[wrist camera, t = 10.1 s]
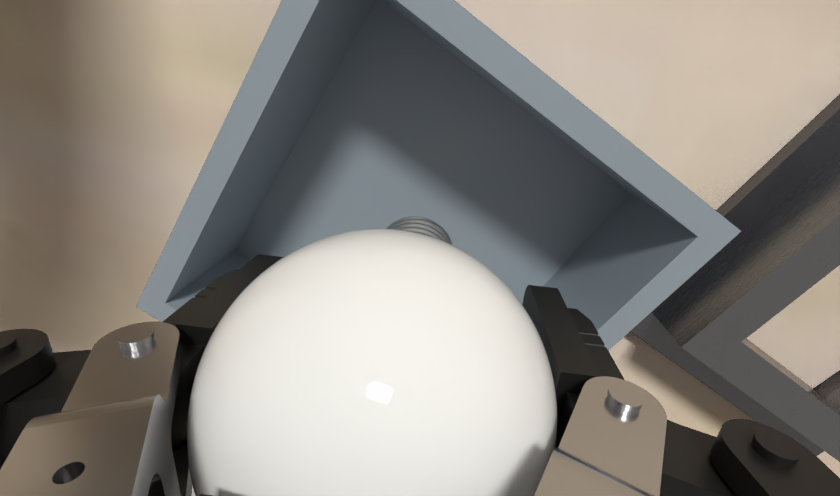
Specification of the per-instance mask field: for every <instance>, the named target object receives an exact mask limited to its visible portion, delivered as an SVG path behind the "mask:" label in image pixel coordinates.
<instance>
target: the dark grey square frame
mask: <svg viewBox="0 0 840 496" xmlns="http://www.w3.org/2000/svg"><path fill="white" fill-rule="evenodd" d="M717 212H718V213H719V214H721V215H722V216H723V217H724V218H726V219H727V220H728V221H729V222H731V223H732V224H733V225H734V226H736V227H737V228H738V229H739V230H740V231H741V232H740V233H739V234H738V235H737V236H736V237H735V238H733V239H732V240H731V241H730V242H729V243H728V244H727V245H726V246H724V247H723V248H722V249H721V250H720V251H719V252H718V253H717V254H716V255H714V256H713V257H712V258H711V259H710V260H709V261H708V262H707V263H706V264H704V265H703V266H702V267H701V268H700V269H699V270H698V271H697V272H695V273H694V274H693V275H692V276H691V277H690V278H689V279H688V280H687V281H685V282H684V283H683V284H682V285H681V286H680V287H679V288H678V289H677V290H675V291H674V292H673V293H672V294H671V295H670V296H669V297H668V298H666V299H665V300H664V301H663V302H662V303H661V304H660V305H659V306H658V307H656V308H655V309H654V310H653V311H652V312H651V313H650V314H649V315H648V316H646V317H645V318H644V319H643V320H642V321H641V322H640V323H639V324H637V325H636V326H635V327H634V328H633V329H632V330H631V332H632V333H634V334H635V335H637V336H638V337H639V338H641V339H642V340H644V341H645V342H646V343H648V344H649V345H651V346H652V347H653V348H655V349H656V350H658V351H659V352H660V353H662V354H663V355H665V356H666V357H667V358H669V359H670V360H672V361H673V362H674V363H676V364H677V365H679V366H680V367H681V368H683V369H684V370H686V371H687V372H688V373H690V374H691V375H693V376H694V377H696V378H697V379H698V380H700V381H701V382H703V383H704V384H705V385H707V386H708V387H710V388H711V389H712V390H714V391H715V392H717V393H718V394H719V395H721V396H722V397H724V398H725V399H726V400H728V401H729V402H731V403H732V404H733V405H735V406H736V407H738V408H739V409H740V410H742V411H743V412H745V413H746V414H747V415H749V416H750V417H752V418H753V419H754V420H756V421H757V422H759V423H761V424H764V425H767V426H769V427H772V428H774V429H776V430H778V431H780V432H782V433H784V434H786V435H788V436H790V437H791V438H793V439H794V440H796V441H798V442H799V443H800V444H802V445H803V446H805V447H806V448H807V449H808V450H810V451H811V452H812V453H813V454H814V455H815V456H817V455H819V454H820V453H822V452H824V451H825V452H827V453H828V454H830V455H831V456H832V457H834V458H835V459H837V460H838V461H839V462H840V371H839V372H838V373H836V374H835V375H834V376H832V377H831V378H829V379H828V380H826V381H825V382H823V383H822V384H820V385H819V386H818V387H816V388H815V389H813V388H811V387H810V386H809V385H807V384H806V383H805V382H803V381H802V380H801V379H799V378H798V377H797V376H795V375H794V374H793V373H791V372H790V371H789V370H787V369H786V368H785V367H783V366H782V365H781V364H779V363H778V362H777V361H775V360H774V359H773V358H771V357H770V356H769V355H767V354H766V353H765V352H763V351H762V350H761V349H759V348H758V347H757V346H755V345H754V344H753V343H751V342H750V341H749V340H747V339H746V338H747V337H748V336H749V335H751V334H752V333H753V332H755V331H756V330H757V329H758V328H760V327H761V326H762V325H763V324H765V323H766V322H767V321H769V320H770V319H771V318H772V317H774V316H775V315H776V314H777V313H779V312H780V311H781V310H783V309H784V308H785V307H786V306H788V305H789V304H790V303H791V302H793V301H794V300H795V299H797V298H798V297H799V296H800V295H802V294H803V293H804V292H805V291H807V290H808V289H809V288H811V287H812V286H813V285H814V284H816V283H817V282H818V281H819V280H821V279H822V278H823V277H825V276H826V275H827V274H828V273H830V272H831V271H832V270H833V269H835V268H836V267H837V266H839V265H840V95H839V96H838V97H837V98H836V99H835V100H834V101H832V102H831V103H830V104H829V105H828V106H827V107H826V108H825V109H824V110H823V111H822V112H821V113H820V114H819V115H818V116H817V117H815V118H814V119H813V120H812V121H811V122H810V123H809V124H808V125H807V126H806V127H805V128H804V129H803V130H802V131H801V132H800V133H798V134H797V135H796V136H795V137H794V138H793V139H792V140H791V141H790V142H789V143H788V144H787V145H786V146H785V147H784V148H783V149H781V150H780V151H779V152H778V153H777V154H776V155H775V156H774V157H773V158H772V159H771V160H770V161H769V162H768V163H767V164H766V165H764V166H763V167H762V168H761V169H760V170H759V171H758V172H757V173H756V174H755V175H754V176H753V177H752V178H751V179H750V180H749V181H747V182H746V183H745V184H744V185H743V186H742V187H741V188H740V189H739V190H738V191H737V192H736V193H735V194H734V195H733V196H732V197H730V198H729V199H728V200H727V201H726V202H725V203H724V204H723V205H722V206H721V207H720V208H719V209H718V210H717Z"/></svg>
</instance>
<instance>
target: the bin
mask: <svg viewBox="0 0 840 496" xmlns="http://www.w3.org/2000/svg"><path fill="white" fill-rule="evenodd" d="M413 216H415V217H423V218H427V219H430V220H432V221H434V222H436V223H437V224H439V225H440V226H441V227H442V228H443V229H444V230H445V231H446V232H447V233H448V235H449V237H450V239H451V241H452V244H453V246H455V247H457V248H459V249H461V250H463V251H464V252H466V253H468V254H469V255H471V256H473V257H474V258H476V259H477V260H479V261H480V262H481V263H483V264H484V265H485V266H486V267H488V268H489V269H490V270H491V271H492V272H494V273H495V274H496V275H497V276H498V277H499V278H500V279H501V280H502V281H503V282H504V283H505V284H506V285H507V286H508V287H509V289H510V290H511V291H512V292H513V293H514V294H515V296H516V297H517V298H518V300H519V301H520V302H521V304H522V303H523V298H524V294H525V290H526V287H527V286H528V285H534V286H543V287H552V288H558V290H559V292H560V294H561V296H562V298H563V300H564V302H565V304H566V306H567V308H573V309H578V310H579V311H580V312H581V313H583V314H584V315H585V316H586V317H587V318H589V319H590V320H591V321H592V323H593V324H594V326H595V328H596V330H597V332H598V333H599V334H598V336H600V337H601V339H602V341H603V342H604V344H605V345H604V347H606V348H607V350H608V351H609V350H610V349H611V348H612V347H613V346H614V345H615V344H616V343H617V342H619V341H620V340H621V339H622V338H623V337H624V336H625V335H626V334H627V333H629V332H630V331H631V330H632V329H633V328H634V327H635V326H636V325H637V324H639V323H640V322H641V321H642V320H643V319H644V318H645V317H646V316H648V315H649V314H650V313H651V312H652V311H653V310H654V309H655V308H656V307H658V306H659V305H660V304H661V303H662V302H663V301H664V300H665V299H666V298H668V297H669V296H670V295H671V294H672V293H673V292H674V291H675V290H677V289H678V288H679V287H680V286H681V285H682V284H683V283H684V282H685V281H687V280H688V279H689V278H690V277H691V276H692V275H693V274H694V273H695V272H697V271H698V270H699V269H700V268H701V267H702V266H703V265H704V264H706V263H707V262H708V261H709V260H710V259H711V258H712V257H713V256H714V255H716V254H717V253H718V252H719V251H720V250H721V249H722V248H723V247H724V246H726V245H727V244H728V243H729V242H730V241H731V240H732V239H733V238H735V237H736V236H737V235H738V234H739V233H740V232H741V231H740V230H739V229H738V228H737V227H736V226H734V225H733V224H732V223H731V222H729V221H728V220H727V219H726V218H724V217H723V216H722V215H721V214H719V213H718V212H717V211H716V210H714V209H713V208H712V207H711V206H709V205H708V204H707V203H706V202H704V201H703V200H702V199H701V198H699V197H698V196H697V195H696V194H694V193H693V192H692V191H691V190H690V189H688V188H687V187H686V186H685V185H683V184H682V183H681V182H680V181H678V180H677V179H676V178H675V177H673V176H672V175H671V174H670V173H668V172H667V171H666V170H665V169H663V168H662V167H661V166H660V165H658V164H657V163H656V162H655V161H653V160H652V159H651V158H650V157H648V156H647V155H646V154H645V153H644V152H642V151H641V150H640V149H639V148H637V147H636V146H635V145H634V144H632V143H631V142H630V141H629V140H627V139H626V138H625V137H624V136H622V135H621V134H620V133H619V132H617V131H616V130H615V129H614V128H612V127H611V126H610V125H609V124H607V123H606V122H605V121H604V120H603V119H601V118H600V117H599V116H598V115H596V114H595V113H594V112H593V111H591V110H590V109H589V108H588V107H586V106H585V105H584V104H583V103H581V102H580V101H579V100H578V99H576V98H575V97H574V96H573V95H571V94H570V93H569V92H568V91H566V90H565V89H564V88H563V87H561V86H560V85H559V84H558V83H557V82H555V81H554V80H553V79H552V78H550V77H549V76H548V75H547V74H545V73H544V72H543V71H542V70H540V69H539V68H538V67H537V66H535V65H534V64H533V63H532V62H530V61H529V60H528V59H527V58H525V57H524V56H523V55H522V54H520V53H519V52H518V51H517V50H516V49H514V48H513V47H512V46H511V45H509V44H508V43H507V42H506V41H504V40H503V39H502V38H501V37H499V36H498V35H497V34H496V33H494V32H493V31H492V30H491V29H489V28H488V27H487V26H486V25H484V24H483V23H482V22H481V21H479V20H478V19H477V18H476V17H474V16H473V15H472V14H471V13H470V12H468V11H467V10H466V9H465V8H463V7H462V6H461V5H460V4H458V3H457V2H456V1H455V0H282V1H281V3H280V5H279V7H278V9H277V12H276V14H275V16H274V18H273V20H272V22H271V24H270V26H269V28H268V31H267V33H266V35H265V37H264V39H263V41H262V43H261V45H260V47H259V49H258V52H257V54H256V56H255V58H254V60H253V62H252V64H251V66H250V68H249V70H248V73H247V75H246V77H245V79H244V81H243V83H242V85H241V87H240V89H239V91H238V94H237V96H236V98H235V100H234V102H233V104H232V106H231V108H230V110H229V112H228V115H227V117H226V119H225V121H224V123H223V125H222V127H221V129H220V131H219V133H218V136H217V138H216V140H215V142H214V144H213V146H212V148H211V150H210V152H209V155H208V157H207V159H206V161H205V163H204V165H203V167H202V169H201V171H200V173H199V176H198V178H197V180H196V182H195V184H194V186H193V188H192V190H191V192H190V194H189V197H188V199H187V201H186V203H185V205H184V207H183V209H182V211H181V213H180V215H179V218H178V220H177V222H176V224H175V226H174V228H173V230H172V232H171V234H170V236H169V239H168V241H167V243H166V245H165V247H164V249H163V251H162V253H161V255H160V258H159V260H158V262H157V264H156V266H155V268H154V270H153V272H152V274H151V276H150V279H149V281H148V283H147V285H146V287H145V289H144V291H143V293H142V295H141V297H140V300H139V302H138V304H137V306H136V307H137V308H139V309H140V310H142V311H144V312H145V313H147V314H149V315H151V316H152V317H154V318H156V319H157V320H159V321H161V322H163V321H164V320H165V319H166V318H168V317H169V316H170V315H171V314H173V313H174V312H175V311H176V310H178V309H179V308H180V307H181V306H183V305H184V304H185V303H186V302H188V301H189V300H190V299H191V298H195V295H196V294H197V293H199V292H200V291H201V290H202V289H205V288H206V286H207V285H209V284H210V283H211V282H212V281H214V280H215V279H216V278H217V277H219V276H222V275H224V274H226V273H229V272H231V271H234V270H240V269H241V268H242V267H243V266H244V265H245V264H247V263H248V262H249V261H250V260H251V259H253V258H254V257H255V256H256V255H258V254H262V255H271V256H280V257H285V256H286V255H288V254H290V253H291V252H293V251H295V250H297V249H299V248H301V247H303V246H305V245H307V244H310V243H312V242H315V241H317V240H320V239H323V238H326V237H329V236H332V235H336V234H340V233H345V232H350V231H357V230H367V229H386V228H387V227H388V226H389V225H391V224H392V223H393V222H395V221H397V220H399V219H402V218H405V217H413Z"/></svg>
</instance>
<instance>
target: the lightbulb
mask: <svg viewBox="0 0 840 496" xmlns="http://www.w3.org/2000/svg"><path fill="white" fill-rule="evenodd" d="M557 421H558V417H557V399H556V391H555V384H554V379H553V374H552V370H551V366H550V363H549V359H548V356H547V353H546V350H545V347H544V345H543V342H542V340H541V337H540V335H539V333H538V331H537V329H536V327H535V325H534V323H533V321H532V319H531V318H530V316H529V314H528V313H527V311H526V310H525V308H524V307H523V305H522V304H521V302H520V301H519V300H518V298H517V297H516V296H515V294H514V293H513V292H512V291H511V290H510V289H509V287H508V286H507V285H506V284H505V283H504V282H503V281H502V280H501V279H500V278H499V277H498V276H497V275H496V274H495V273H494V272H492V271H491V270H490V269H489V268H488V267H486V266H485V265H484V264H483V263H481V262H480V261H479V260H477V259H476V258H474V257H473V256H471V255H469V254H468V253H466V252H464V251H463V250H461V249H459V248H457V247H455V246H453V244H452V241H451V239H450V237H449V235H448V233H447V232H446V231H445V230H444V229H443V228H442V227H441V226H440V225H439V224H437V223H436V222H434V221H432V220H430V219H427V218H423V217H415V216H413V217H405V218H402V219H399V220H397V221H395V222H393V223H392V224H391V225H389V226H388V227H387V228H386V229H367V230H357V231H350V232H345V233H340V234H336V235H332V236H329V237H326V238H323V239H320V240H317V241H315V242H312V243H310V244H307V245H305V246H303V247H301V248H299V249H297V250H295V251H293V252H291V253H290V254H288V255H286V256H285V257H283V258H281V259H280V260H278V261H277V262H275V263H274V264H273V265H271V266H270V267H269V268H267V269H266V270H265V271H263V272H262V273H261V274H260V275H259V276H258V277H256V278H255V279H254V280H253V281H252V282H251V283H250V284H249V285H248V286H247V287H246V288H245V289H244V290H243V291H242V292H241V293H240V294H239V296H238V297H237V298H236V299H235V300H234V302H233V303H232V304H231V305H230V307H229V308H228V309H227V311H226V312H225V314H224V315H223V317H222V318H221V320H220V321H219V323H218V324H217V326H216V328H215V330H214V331H213V333H212V335H211V337H210V339H209V341H208V343H207V345H206V347H205V350H204V352H203V354H202V357H201V360H200V362H199V365H198V368H197V371H196V374H195V378H194V382H193V386H192V390H191V395H190V401H189V407H188V416H187V455H188V463H189V470H190V476H191V480H192V485H193V488H194V492H195V495H196V496H199V495H200V494H205V495H212V496H534V495H535V492H536V490H537V488H538V485H539V483H540V480H541V478H542V476H543V473H544V471H545V469H546V466H547V464H548V461H549V459H550V457H551V454H552V452H553V450H554V448H555V447H556V441H557Z"/></svg>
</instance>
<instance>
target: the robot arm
mask: <svg viewBox="0 0 840 496" xmlns="http://www.w3.org/2000/svg"><path fill="white" fill-rule="evenodd" d="M281 258H283V257H280V256H271V255H262V254H258V255H256V256H255V257H254V258H253V259H251V260H250V261H249V262H248V263H247V264H245V265H244V266H243V267H242V268H241V269H240V270H234V271H231V272H229V273H226V274H224V275H222V276H219V277H217V278H216V279H215V280H214V281H212V282H211V283H210V284H209V285H207V286H206V288H205V289H202V290H201V291H200V292H199V293H197V294H196V295H195V298H191V299H190V300H189V301H188V302H186V303H185V304H184V305H183V306H181V307H180V308H179V309H178V310H176V311H175V312H174V313H173V314H171V315H170V316H169V317H168V318H166V319H165V320H164V321H163V322H143V323H137V324H132V325H128V326H125V327H122V328H119V329H117V330H115V331H113V332H110V333H109V334H107V335H105V336H104V337H102V338H101V339H100V340H99V341H98V342H97V343H96V344H95V345H94V346H93V348H92V350H84V351H71V352H58V353H53V352H52V349H51V346H50V342H49V339H48V336H47V335H46V333H44V332H42V331H39V330H34V329H15V330H8V331H2V332H0V496H191V494H192V480H191V476H190V470H189V463H188V455H187V416H188V407H189V401H190V395H191V390H192V386H193V382H194V378H195V374H196V371H197V368H198V365H199V362H200V360H201V357H202V354H203V352H204V350H205V347H206V345H207V343H208V341H209V339H210V337H211V335H212V333H213V331H214V330H215V328H216V326H217V324H218V323H219V321H220V320H221V318H222V317H223V315H224V314H225V312H226V311H227V309H228V308H229V307H230V305H231V304H232V303H233V302H234V300H235V299H236V298H237V297H238V296H239V294H240V293H241V292H242V291H243V290H244V289H245V288H246V287H247V286H248V285H249V284H250V283H251V282H252V281H253V280H254V279H255V278H256V277H258V276H259V275H260V274H261V273H262V272H263V271H265V270H266V269H267V268H269V267H270V266H271V265H273V264H274V263H275V262H277V261H278V260H280V259H281ZM522 305H523V307H524V308H525V310H526V311H527V313H528V314H529V316H530V318H531V319H532V321H533V323H534V325H535V327H536V329H537V331H538V333H539V335H540V337H541V340H542V342H543V345H544V347H545V350H546V353H547V356H548V359H549V363H550V366H551V370H552V374H553V379H554V384H555V391H556V399H557V417H558V421H557V441H556V447H555V448H554V450H553V452H552V454H551V457H550V459H549V461H548V464H547V466H546V469H545V471H544V473H543V476H542V478H541V480H540V483H539V485H538V488H537V490H536V492H535V495H534V496H840V478H839V477H838V476H837V475H836V474H835V473H834V472H832V471H831V470H830V469H829V468H828V467H827V466H826V465H825V464H824V463H823V462H822V461H821V460H820V459H818V458H817V457H816V456H815V455H814V454H813V453H812V452H811V451H810V450H808V449H807V448H806V447H805V446H803V445H802V444H800V443H799V442H798V441H796V440H794V439H793V438H791V437H790V436H788V435H786V434H784V433H782V432H780V431H778V430H776V429H774V428H772V427H769V426H767V425H764V424H761V423H758V422H754V421H750V420H743V419H734V420H729V421H727V422H725V423H724V424H723V425H722V428H721V430H720V432H719V434H718V436H717V437H714V436H711V435H708V434H705V433H702V432H699V431H696V430H694V429H691V428H688V427H685V426H682V425H679V424H676V423H674V422H671V421H669V420H667V415H666V412H665V410H664V408H663V406H662V405H661V404H660V403H659V401H658V400H657V399H656V398H655V397H654V396H652V395H651V394H650V393H649V392H647V391H646V390H644V389H643V388H641V387H639V386H637V385H635V384H633V383H631V382H629V381H626V380H624V378H623V376H622V375H621V373H620V371H619V369H618V367H617V366H616V364H615V362H614V360H613V358H612V357H611V355H610V353H609V351H608V350H607V348H606V347H604V345H605V344H604V342H603V341H602V339H601V337H600V336H598V334H599V333H598V332H597V330H596V328H595V326H594V324H593V323H592V321H591V320H590V319H589V318H587V317H586V316H585V315H584V314H583V313H581V312H580V311H579V310H578V309H573V308H567V306H566V304H565V302H564V300H563V298H562V296H561V294H560V292H559V290H558V288H552V287H543V286H534V285H528V286H527V287H526V290H525V294H524V298H523V303H522ZM199 496H212V495H205V494H200V495H199Z"/></svg>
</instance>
